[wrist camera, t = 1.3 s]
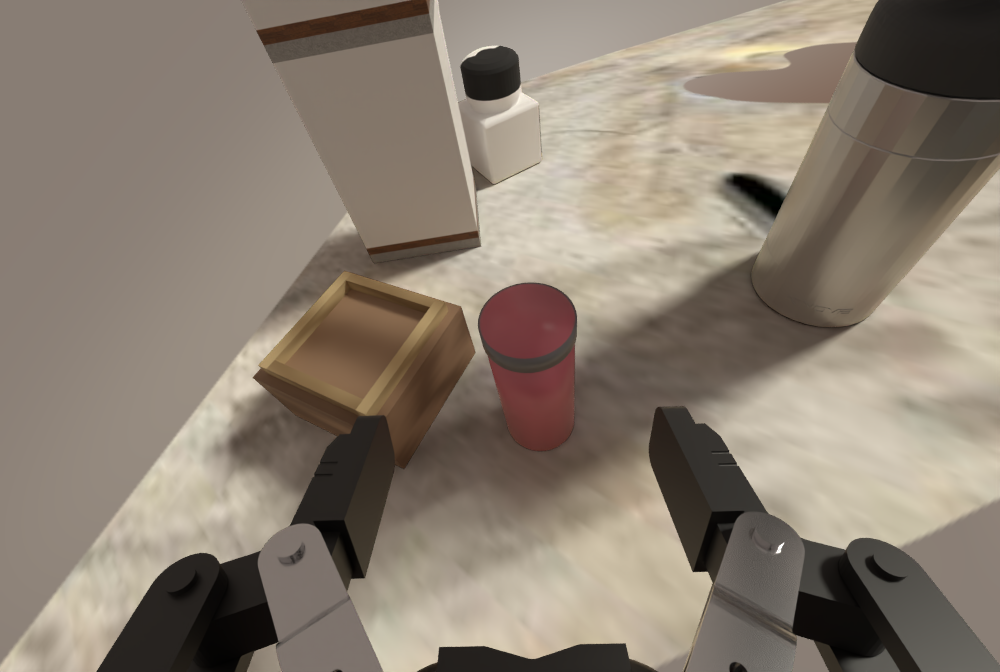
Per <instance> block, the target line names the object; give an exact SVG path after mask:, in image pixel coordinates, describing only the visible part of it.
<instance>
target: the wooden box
mask: <svg viewBox="0 0 1000 672" xmlns="http://www.w3.org/2000/svg"><path fill="white" fill-rule="evenodd" d="M474 354H475V349H474V346H473V343H472V340H471V336H470V333H469V330H468V327H467V324H466V321H465V318H464V314H463V311H462V308H461V307H460V306H457V305H454V304H451V303H448V302H444V301H441V300H438V299H435V298H431V297H428V296H425V295H422V294H418V293H415V292H412V291H409V290H406V289H402V288H399V287H396V286H393V285H389V284H386V283H383V282H380V281H376V280H373V279H370V278H367V277H364V276H360V275H357V274H354V273H351V272H346V271H344V272H343V273H342V274H341V275H340V276H339V277H338V278H337V279H336V281H335V282H334V283H333V284H332V285H331V286H330V287H329V288H328V289H327V290H326V291H325V293H324V294H323V295H322V296H321V297H320V298H319V299H318V300H317V301H316V302H315V304H314V305H313V306H312V307H311V308H310V309H309V310H308V311H307V312H306V313H305V315H304V316H303V317H302V318H301V319H300V320H299V321H298V322H297V323H296V324H295V326H294V327H293V328H292V329H291V330H290V331H289V332H288V333H287V334H286V335H285V337H284V338H283V339H282V340H281V341H280V342H279V343H278V344H277V345H276V346H275V347H274V349H273V350H272V351H271V352H270V353H269V354H268V355H267V356H266V357H265V358H264V360H263V361H262V362H261V363H260V364H259V365H258V366H259V367H261V369H260V370H259V371H258V372H257V373H256V374H255V375H254V377H253V378H254V379H255V380H256V381H257V382H258V383H259V384H261V385H262V386H263V387H264V388H265V389H266V390H267V391H269V392H270V393H271V394H272V395H273V396H274V397H275V398H277V399H278V400H279V401H280V402H281V403H282V404H283V405H285V406H286V407H287V408H288V409H289V410H290V411H291V412H293V413H294V414H295V415H296V416H298V417H300V418H302V419H304V420H306V421H308V422H310V423H312V424H314V425H316V426H318V427H320V428H322V429H324V430H326V431H328V432H330V433H332V434H334V435H336V436H339V435H340V434H350V433H351V430H352V428H353V426H354V423H355V421H356V419H357V417H358V416H372V415H384V416H385V417H386V419H387V423H388V427H389V432H390V436H391V440H392V444H393V449H394V454H395V465H397V466H399V467H401V468H403V469H404V468H405V467H406V465H407V464H408V462H409V460H410V459H411V457H412V455H413V454H414V452H415V450H416V449H417V447H418V446H419V444H420V442H421V441H422V439H423V437H424V436H425V434H426V432H427V431H428V429H429V428H430V426H431V424H432V423H433V421H434V419H435V418H436V416H437V414H438V413H439V411H440V410H441V408H442V406H443V405H444V403H445V401H446V400H447V398H448V396H449V395H450V393H451V392H452V390H453V388H454V387H455V385H456V383H457V382H458V380H459V378H460V377H461V375H462V374H463V372H464V370H465V369H466V367H467V365H468V364H469V362H470V360H471V359H472V357H473V356H474Z"/></svg>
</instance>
